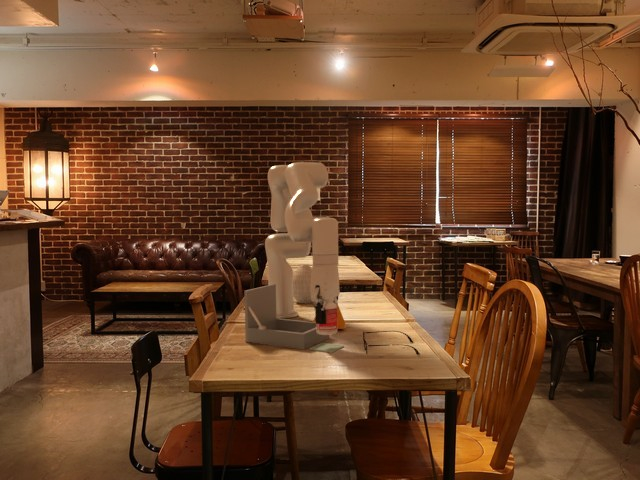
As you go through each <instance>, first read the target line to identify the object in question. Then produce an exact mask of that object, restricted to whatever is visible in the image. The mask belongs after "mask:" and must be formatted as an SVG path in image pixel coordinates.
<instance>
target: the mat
mask: <svg viewBox="0 0 640 480" xmlns="http://www.w3.org/2000/svg"><path fill="white" fill-rule="evenodd" d="M344 347H345V345H344V344H342V345H341V344H334V343H327V342H319V343H317V345H316V344H315V345H313V346H311V347H309V351H316V352H323V353H330V354H331V353H332V354H333V353H334V352H337V351H339V350H341V349H343V348H344Z"/></svg>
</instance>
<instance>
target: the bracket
mask: <svg viewBox="0 0 640 480" xmlns="http://www.w3.org/2000/svg"><path fill="white" fill-rule="evenodd" d="M312 322H316V320H315V317H314V319H312ZM339 329H340V330H346V322H345V319H344V317H343V314H342V312H341V308H340V306H339V304H338V305H337V332H338V330H339Z"/></svg>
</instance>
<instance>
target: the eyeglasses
mask: <svg viewBox="0 0 640 480" xmlns="http://www.w3.org/2000/svg"><path fill="white" fill-rule="evenodd" d="M387 332H388V333H389V332H390V333H392V332H396V333H401V334H403V335H404V336H406V337H407V339H408V340H409V342H410V343H411V342H412V343H411V344H413V343H414V341H413V339H412V338H411V336H410V335H408V334H406V333H405V332H403V331H400V330H382V331H379V330H378V331H363V332H362V336H363V338H362V340H363V347H364V350H365V354H366V355H368V347H382V346H384V347H385V346H389V344H368V343H367V341H366V338H365V337H366V334H373V333H375V334H377V333H387ZM393 346H405V347H409V348H412V349H413V350H414V351H415V353H416V355H420V352H419V350H418V349H417V348H416V347H413V346H412V345H409V344H402V343H401V344H398V343H397V344H393Z"/></svg>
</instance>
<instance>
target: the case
mask: <svg viewBox="0 0 640 480" xmlns="http://www.w3.org/2000/svg"><path fill="white" fill-rule="evenodd" d="M243 291H244V292H243V293H244V325H245V326H244V329H245V330H244V331H245V333H244V334H245V343H250V342H252V344H258V343H259V344H260V345H266V344H267V345H266V346H273V345H274V346H275V347H283V348H291V349H298V350H306V349H309V348H311V347H313V346H316V344H317V345H318V344H320V343H322V342H323V341H326V340H327V339H329V338H330V335H320V334H318V333H317V332H316V322H313V321H309V320H308V321H307V320H298V319H290V318H284V319H279V318H276V284H271V285H268V284H267V285H264V286H260V287H256V288H251V289H247V290H243ZM274 346H273V347H274Z"/></svg>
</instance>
